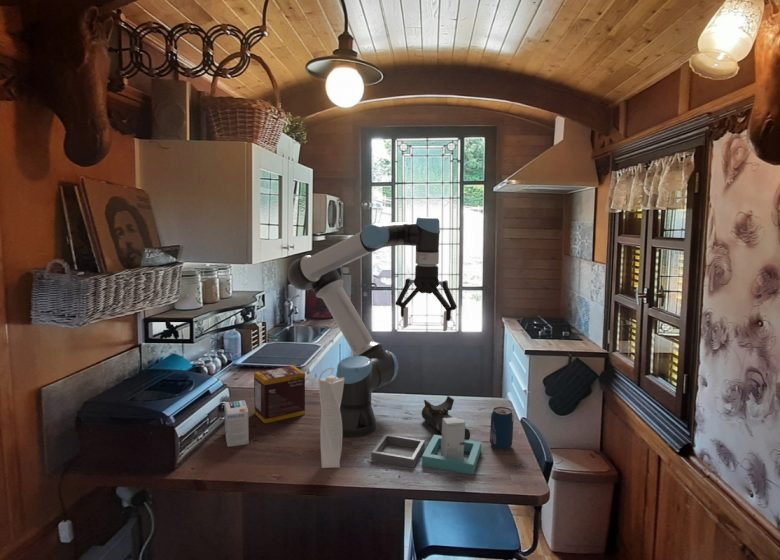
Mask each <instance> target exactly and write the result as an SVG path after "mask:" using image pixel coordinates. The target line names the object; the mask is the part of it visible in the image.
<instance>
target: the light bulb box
mask: <svg viewBox="0 0 780 560" xmlns="http://www.w3.org/2000/svg"><path fill="white" fill-rule="evenodd" d="M246 403H247V402H246V400H244V399H242V400H235V401H227V402H223V404H224V407H223V408H224V435H225V440H226V445H227V447H228V448H229V447H237V446H244V445H248V444H250V442H249V439H250V438H249V409H248V405H247V404H246Z"/></svg>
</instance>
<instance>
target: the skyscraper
mask: <svg viewBox="0 0 780 560" xmlns="http://www.w3.org/2000/svg"><path fill="white" fill-rule="evenodd" d="M334 369H335V367H332V366H331V367H329V368H326V369H325V370H323V371H322V372H321V374H320V375H319V377H318V380H317V381H318V392H319V393H318V394H319V400H320V409H321V414H320V424H319V425H320V427H319V429H320V432H319V433H320V434H319V435H320V439H319V440H320V442H319V443H320V461H321V462H320V463H321V468H322V469H325V468H327V469H329V468H338V469H339V468H341V466H340V462H341V457H342V447H343V435H342V419H341V413H340V405H341V400H342V394H343V387H344V378H343V377H342V378H337V377H336V374H335V375H334V371H335V370H334ZM329 370H331V374H328V375H326V377H322V375H324V373H326V372H327V371H329ZM321 377H322V378H321Z"/></svg>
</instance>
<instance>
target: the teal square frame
mask: <svg viewBox="0 0 780 560" xmlns="http://www.w3.org/2000/svg"><path fill="white" fill-rule="evenodd" d="M441 438H442V435H440V434H439V435H438V434H433V436H432V437H431V440H430V441H429V443H428V444H427V447H426V449H424V451H423V452H422V453H423V454H421V466H422V467H428V468H434V469H440V470H445V471H451V472H456V473H461V474H466V475H467V474H468V475H472V476H473V475H474V473H475V470H476V467H477V464H478V460H479V458H480V455H481V452H482V441H477V440H472V439H469V440H465V439H464V452H465V453H466V452H467V453H469V456H468V458H467V459H464V458H463V459H457V458H451V457H445V456H441V455H440V454H439V455H438V454H436V453H437V450H438V449H441Z"/></svg>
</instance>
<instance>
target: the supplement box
mask: <svg viewBox="0 0 780 560" xmlns="http://www.w3.org/2000/svg"><path fill="white" fill-rule="evenodd" d="M253 395H254V397H253V398H254V400H253V401H254V414H255V415H256V416H257V417H258V418H259V420H261V422H262V423H264V424H269V423H273V422H277V421H282V420H287V419H291V418H296V417H299V416H304V415H306V373H305V372H304V371H302V370H301V369H299V368H298V367H296V366H295V365H288V366H284V367H277V368H271V369H265V370H261V371H260V370H259V371H255V372H253Z"/></svg>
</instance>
